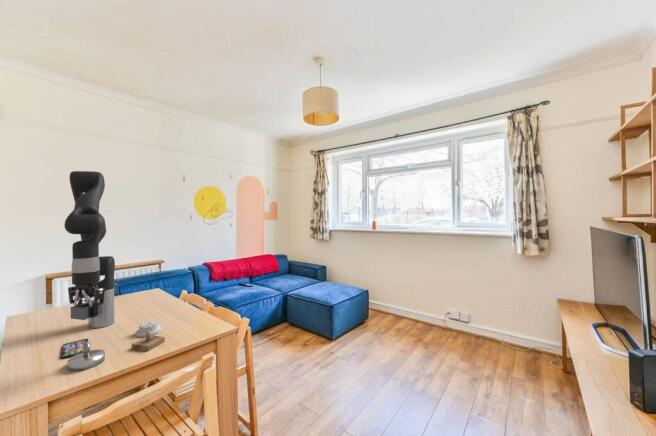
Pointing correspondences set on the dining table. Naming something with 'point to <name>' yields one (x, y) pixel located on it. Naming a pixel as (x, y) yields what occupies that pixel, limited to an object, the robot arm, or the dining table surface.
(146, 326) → the grey rounded lump
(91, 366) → the stand
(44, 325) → the dining table surface
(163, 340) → the stand
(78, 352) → the smartphone
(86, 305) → the grey notched block
